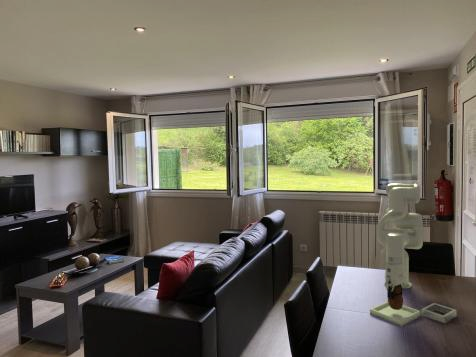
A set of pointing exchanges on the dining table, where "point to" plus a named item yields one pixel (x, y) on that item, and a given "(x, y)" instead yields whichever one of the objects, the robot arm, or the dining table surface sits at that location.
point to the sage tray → (395, 314)
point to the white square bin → (441, 318)
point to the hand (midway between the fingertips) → (394, 296)
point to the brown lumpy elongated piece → (396, 299)
